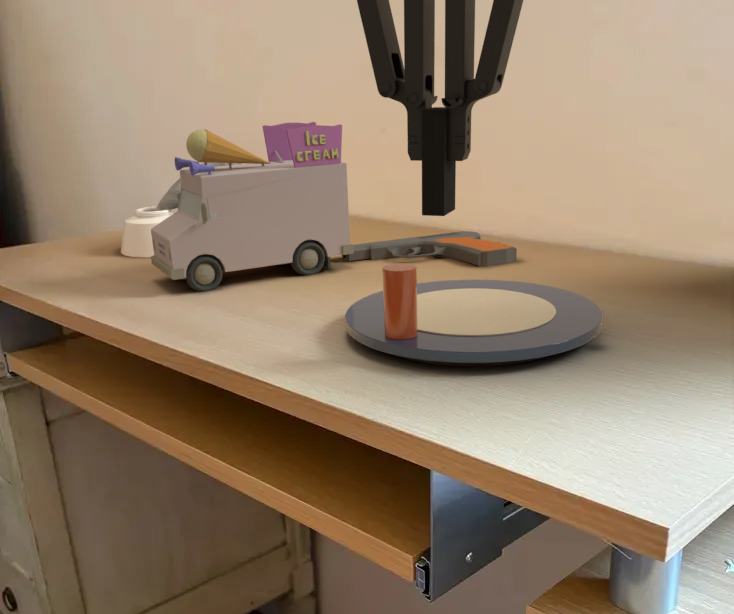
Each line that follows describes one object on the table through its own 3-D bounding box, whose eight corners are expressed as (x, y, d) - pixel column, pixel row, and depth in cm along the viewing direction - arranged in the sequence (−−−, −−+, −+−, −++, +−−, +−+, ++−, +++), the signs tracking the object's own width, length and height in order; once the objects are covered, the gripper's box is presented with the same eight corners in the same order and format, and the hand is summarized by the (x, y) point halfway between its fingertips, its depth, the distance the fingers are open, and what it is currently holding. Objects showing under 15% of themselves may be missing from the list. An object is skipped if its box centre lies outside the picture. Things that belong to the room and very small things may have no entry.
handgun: (384, 282, 82) (341, 260, 93) (521, 263, 88) (466, 244, 98) (384, 265, 82) (340, 244, 92) (521, 246, 87) (466, 228, 97)
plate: (651, 315, 65) (659, 241, 63) (492, 385, 53) (494, 296, 50) (457, 277, 79) (457, 215, 76) (293, 325, 66) (288, 253, 64)
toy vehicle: (152, 281, 87) (131, 131, 81) (322, 256, 95) (314, 118, 89) (176, 300, 79) (155, 136, 73) (358, 272, 87) (352, 122, 81)
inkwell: (108, 251, 102) (95, 168, 98) (235, 230, 112) (228, 153, 108) (140, 263, 95) (128, 173, 91) (272, 239, 105) (266, 157, 102)
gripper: (305, -221, 45) (326, 218, 54) (547, -260, 40) (525, 226, 49) (357, -187, 51) (367, 200, 60) (570, -217, 47) (547, 206, 56)
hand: (438, 211), depth 55 cm, fingers closed
